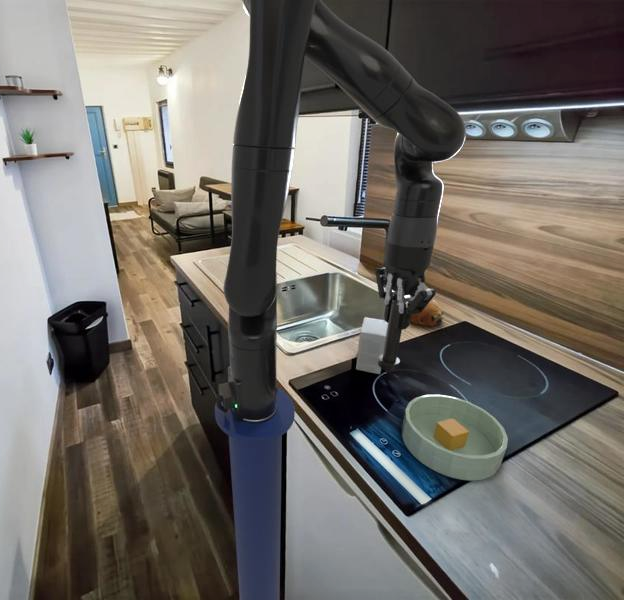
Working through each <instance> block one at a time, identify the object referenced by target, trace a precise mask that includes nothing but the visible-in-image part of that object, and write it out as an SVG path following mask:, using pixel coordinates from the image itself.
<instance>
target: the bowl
mask: <svg viewBox="0 0 624 600" xmlns="http://www.w3.org/2000/svg"><path fill="white" fill-rule="evenodd" d="M452 418H453V419H455V420H456V421H457V422H458V423H459V424H461V425H462V426H463V427H464V428H465V429H467V430H468V431H469V434H468V438H467V441H466V444H465V446H464V447H461V448H458V449H454V450H451V451H450V450H447V449H446V448H445V447H444V446H443V445H441V444H440V443H439V442H438V441H437V440H436V439H435V438H434V433H435V429H436V425H437V422H441V421H444V420H448V419H452ZM401 437H402V441H403V443H404V445H405V447H406V448H407V450H408V452H410V454H411V455H412V456H413V457H414V458H415V459H416V460H418V461H419V462H420V463H421V464H422V465H424V466H425V467H427V468H429V469H431V470H433V471H434V472H436V473H439V474H441V475H444V476H445V477H449V478H451V479H455V480H460V481H467V482H468V481H475V482H476V481H482V480H486V479H489V478H491V477H492V476H493V475H495V474H496V473H497V472H498V470H499V468H500V467H501V465H502V462H503V459H504V457H505V454H506V452H507V448H508V444H509V443H508V442H509V437H508V435H507V432H506V430H505V428H504V426H503V425H502V424H501V423H500V422H499V421H498V420H497V419H496V417H494V415H492V414H491V413H489V412H488V411H486V410H485V409H484V408H482V407H480V406H478V405H476V404H475V403H473V402H470V401H467V400H465V399H462V398H458V397H455V396H450V395H445V394H424V395H420V396H416V397H415V398H413V399H412V400H410V401H409V402H408V404H407V406H406V408H405V410H404V416H403V420H402V425H401Z"/></svg>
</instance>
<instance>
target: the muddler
mask: <svg viewBox="0 0 624 600" xmlns="http://www.w3.org/2000/svg"><path fill="white" fill-rule="evenodd" d="M407 304H408V302H406V305H407ZM398 312H399V301H398V300H393V301H392V304H391V310H390V316H389V322H388V327H387V334H386V340H385V346H384V352H383V354H382V355H380V356H379V359H378V365H379V367H380V368H381V370H384V371H388V372H395V371H398V370H399V368H400V363H401V360H400V358H399V357H398V354H399V353H398V352H399V347H400V343H401V337H402V331H403V330H397V329H396V328H395V324H396V319H397V313H398Z"/></svg>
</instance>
